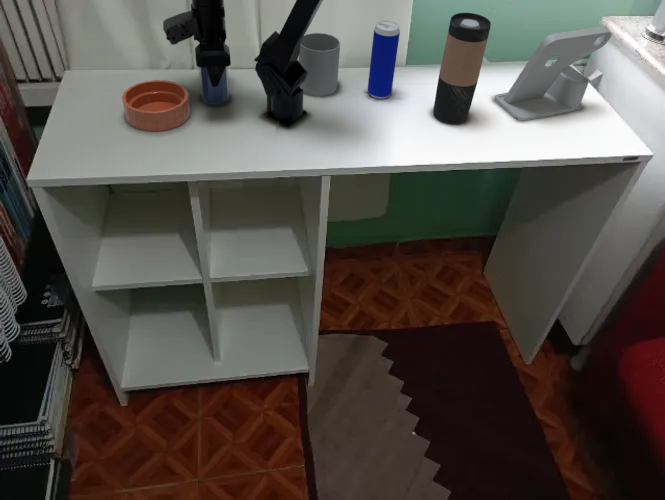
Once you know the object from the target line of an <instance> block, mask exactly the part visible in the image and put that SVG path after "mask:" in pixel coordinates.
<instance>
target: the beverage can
mask: <svg viewBox="0 0 665 500" xmlns="http://www.w3.org/2000/svg"><path fill="white" fill-rule="evenodd" d="M399 25H400V24H398V23H396V22H394V21H391V20H382V21H378V22H377V23H376V24H375V26H374V28H373V35H372V46H371V53H370V63H369V73H368V82H367V93H368V94H369V96H371V97H372V98H374V99H379V100H382V99H387V98H389V97H390V95H392V92H393V84H394V77H395V71H396V63H397V62H396V61H397V56H398V50H399V49H398V47H399V43H400V34H401V31H400V26H399Z"/></svg>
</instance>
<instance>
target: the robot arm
mask: <svg viewBox="0 0 665 500" xmlns="http://www.w3.org/2000/svg"><path fill="white" fill-rule="evenodd" d="M323 2H324V0H295V2H294V4H293V6H292V8H291V10H290V12H289V14H288V16H287V18H286V20H285V22H284V24H283V26H282V28H281V30H280V32H278V31H277V30H274V31H273V32H272V33H271V35H269V37H267V38H266V39H265V40H264V41H263V42H262V44H261V47H260V50H259V54H258V55H257V56H256V57H255V58H254V59H253V61H254V62H256V63H255V66H254V67H255V68H254V70H255V72H256V75H257V77H258V78H259V80H260V82H261V84H262V87H263V90H264V93H265V95H266V110H267V111H266V112H264V113H263V116H264V117H265V118H268V119H270V120H272V121H275V122H277V123H278V124H280V125H282V126H284V127H286V128H290V127H292V126H293V125H295V124H297V123H298V122H299V121H300V120H301V119H303V118H304V117H306V116H307V115H308V111H306V110H304V92H303V89H301V88H300V85H301V83H302V82H304V80H305V78H306V76H307V74H308V73H307V71H306V70H305V68H304V67H303V66H302V65H301V64H300V62H299V53H300V45H301V40H302V38H303V37H304V35H306V34H307V31H308V30H309V27H310V25H311V24H312V22H313V20H314V18H315V17H316V14H317V12H318V11H319V9H320V7H321V5H322V3H323ZM162 30H163V32H164V34H165V35H166V37H165V39H166V40H167V41H169V43H170V45H172V46H173V45H177V44H179V43H180V42H183V41H185V40H188V39H190V38H192V37H193V41H197V42H198V45H197V46H196V47H194V52H195V53H194V54H195V64H196V67H198V68H199V67H206V69H207V72H208V75H209V78H210V81H211V84H212V86H213V87H217V86H218V85H219V82H220V80H221V77H222V75H223V72H224V70H225V68H226V67H227V68H228V67H229V66H231V64H232V63H231V62H232V61H231V51H230V46H228V45H227V43H226V40H227V28H226V10H225V1H224V0H191V3H190V10H188V11H184V12H181V13H178V14H176V15H173V16H171V17H168V18H166V19H164V20H163V22H162Z"/></svg>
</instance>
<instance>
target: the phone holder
mask: <svg viewBox="0 0 665 500" xmlns="http://www.w3.org/2000/svg"><path fill="white" fill-rule="evenodd" d="M612 36H613V33H612V32H611V30H610V29H609V28H608V26H606V25H602V26H596V27H595V26H594V27H590V28H581V29H576V30H569V31H561V32H556V33H551V34H549V35H547V36H545V37H544V38H543V39H542V40H541V41H540V42H539V44H538V46H537V48H536V49H535V50H534V51H533V53H532V55H531V56H530V57H529V60H528V61H527V63H526V64H525V66H524V68H523V69H522V70H521V72H520V73H519V75H518V76H517V78H516V80H515V81H514V82H513V84H512V86H511V87H510V89H509V90H508V92H504V93H497V94H496V95H495V96H494V102H495V103H497V104H498V105H499V106H500V107H501V108H502V109H504V111H506V112H507V113H508V114H509V115H510V116H511V117H513V118H514V119H517V121H521V122H526V121H530V120H535V119H540V118H545V117H550V116H554V115H555V116H556V115H559V114H565V113H570V112H575V111H580V110H581V109H582V106H583V104H582V101H583V99H584V95H585V94H586V91H587V89H588V86H589V83H590V80H589V78H588V77H587V76H585V75H584V74H582V73H581V72H580V71H578V70H577V69H575V68H574V67H572V66H571V65H573V64H574V63H576V62H578V61H580V60H581V59H583V58H585V57H587V56H589V55H590V54H592V53H594V52H596V51H598V50H600V49H601V48H603V47H604V46H605V45H606V44H607V43H608V42H609V41H610V39H611V38H612ZM555 57H557V60H555V61H553V62H551V64H550V65H546V64H547V62H549V61H550V60H551V59H553V58H555Z"/></svg>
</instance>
